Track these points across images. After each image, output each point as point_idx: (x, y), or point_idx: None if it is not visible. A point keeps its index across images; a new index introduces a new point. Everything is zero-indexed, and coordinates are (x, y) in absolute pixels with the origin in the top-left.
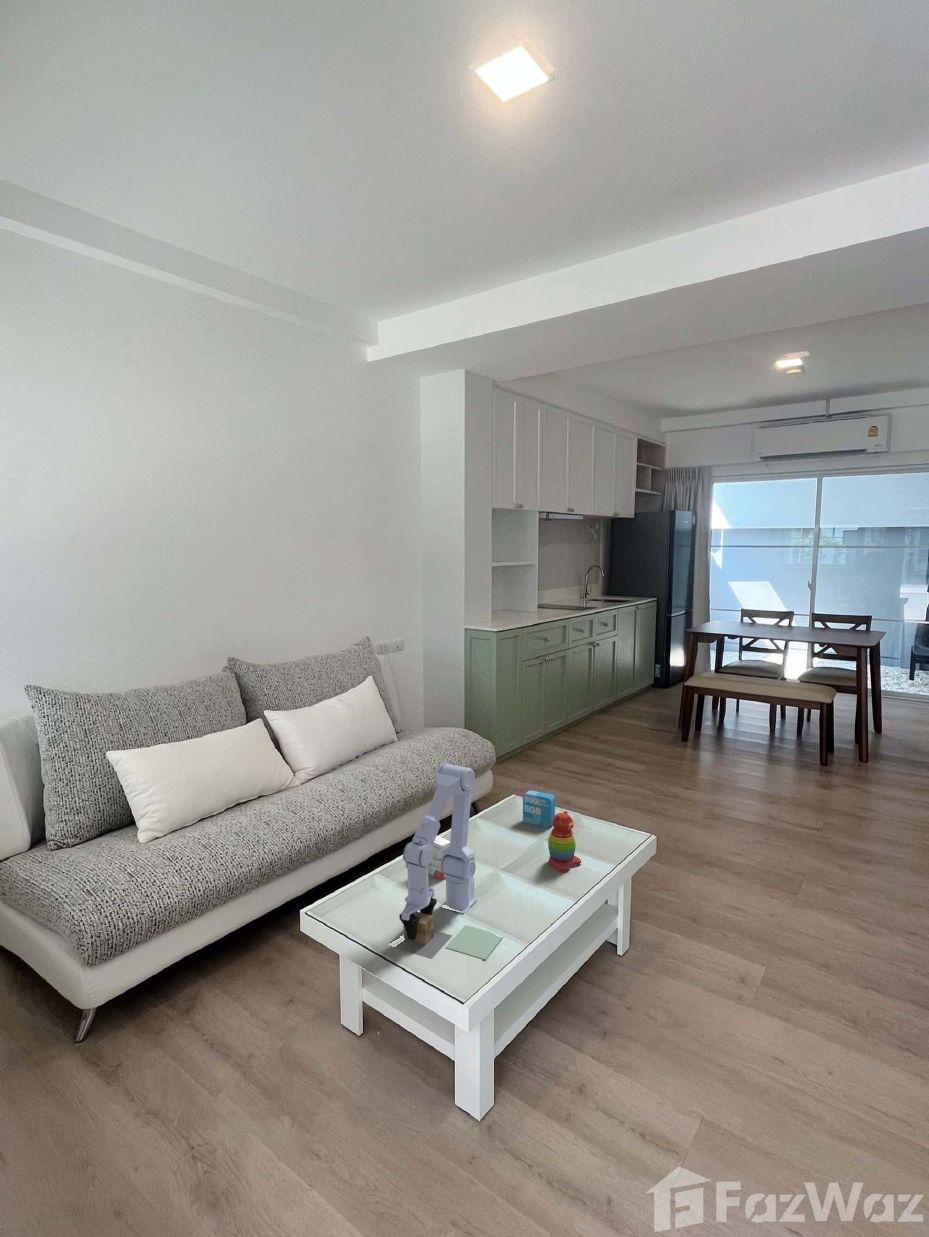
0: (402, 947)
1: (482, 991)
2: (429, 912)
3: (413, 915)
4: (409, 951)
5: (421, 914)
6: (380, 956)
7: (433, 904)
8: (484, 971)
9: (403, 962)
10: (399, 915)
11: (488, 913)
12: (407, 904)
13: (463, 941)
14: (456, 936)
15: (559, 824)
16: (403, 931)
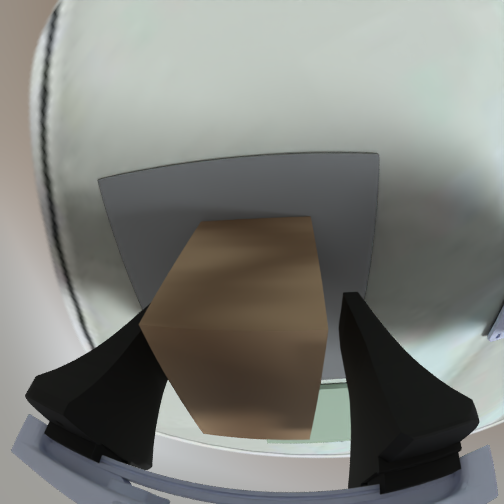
0: (139, 258)
1: (179, 439)
2: (351, 413)
3: (117, 460)
4: (142, 300)
5: (292, 404)
6: (48, 209)
7: (349, 485)
8: (231, 441)
9: (94, 304)
10: (25, 395)
11: (484, 374)
12: (92, 497)
13: (318, 408)
14: (340, 390)
15: None
16: (265, 169)
